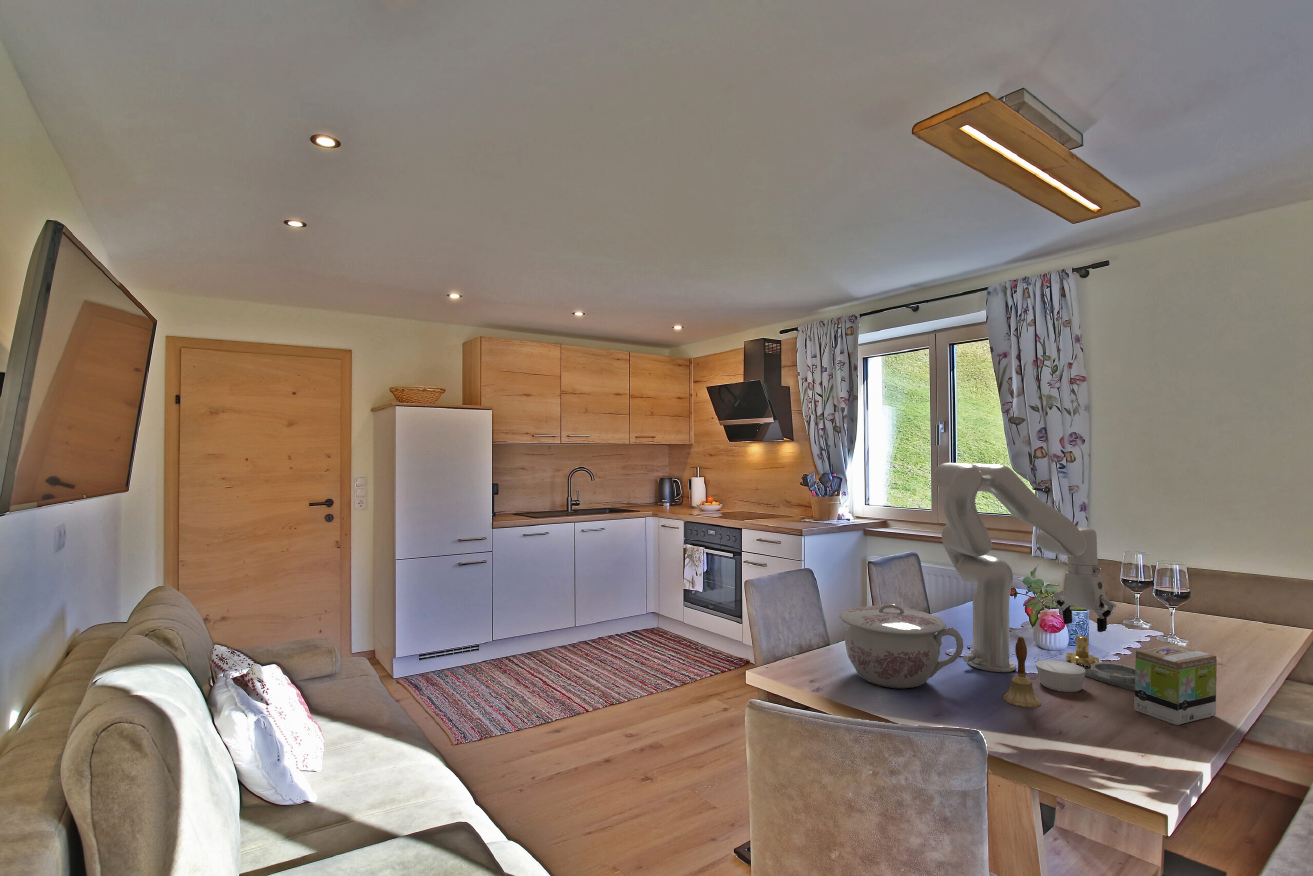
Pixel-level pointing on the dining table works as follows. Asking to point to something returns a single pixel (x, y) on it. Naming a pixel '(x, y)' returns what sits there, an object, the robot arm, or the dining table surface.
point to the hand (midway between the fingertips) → (1084, 627)
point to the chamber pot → (896, 644)
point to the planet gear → (1082, 653)
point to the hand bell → (1021, 682)
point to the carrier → (1113, 674)
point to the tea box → (1175, 684)
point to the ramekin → (1061, 675)
